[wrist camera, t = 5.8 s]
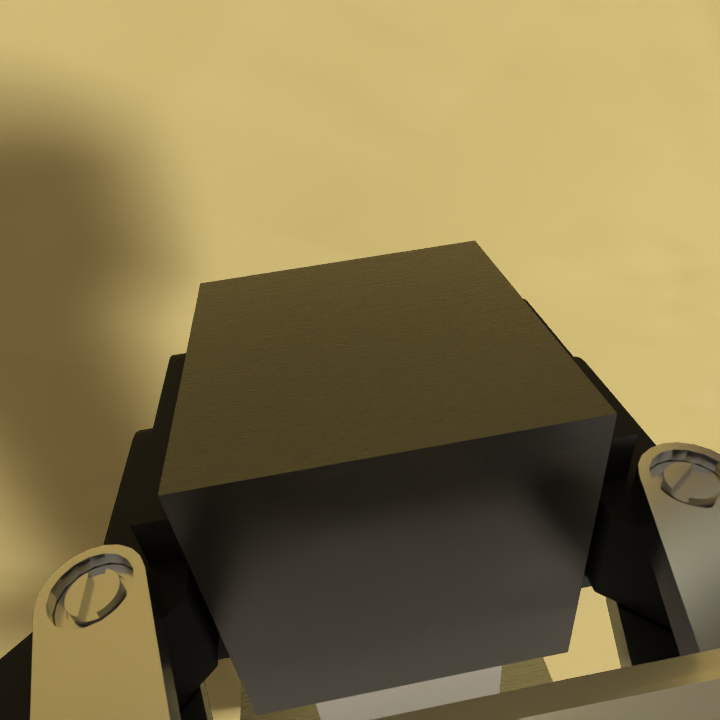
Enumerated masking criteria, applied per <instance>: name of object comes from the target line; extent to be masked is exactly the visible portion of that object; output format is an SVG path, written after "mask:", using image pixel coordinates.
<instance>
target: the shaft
mask: <svg viewBox="0 0 720 720" xmlns="http://www.w3.org/2000/svg"><path fill="white" fill-rule="evenodd" d="M616 417H617V413H616V411H615V410H614V409H613V408H612V406H611V405H610V404H609V403H608V402H607V400H606V399H605V398H604V397H603V396H602V394H601V393H600V392H599V391H598V389H597V388H596V387H595V386H594V385H593V383H592V382H591V381H590V380H589V379H588V377H587V376H586V375H585V374H584V372H583V371H582V370H581V369H580V368H579V366H578V365H577V364H576V363H575V362H574V360H573V359H572V358H571V357H570V355H569V354H568V353H567V352H566V351H565V349H564V348H563V347H562V346H561V345H560V343H559V342H558V341H557V340H556V338H555V337H554V336H553V335H552V334H551V332H550V331H549V330H548V329H547V328H546V326H545V325H544V324H543V323H542V321H541V320H540V319H539V318H538V317H537V315H536V314H535V313H534V312H533V311H532V309H531V308H530V307H529V306H528V304H527V303H526V302H525V301H524V300H523V298H522V297H521V296H520V295H519V294H518V292H517V291H516V290H515V289H514V287H513V286H512V285H511V284H510V283H509V281H508V280H507V279H506V278H505V277H504V275H503V274H502V273H501V272H500V270H499V269H498V268H497V267H496V266H495V264H494V263H493V262H492V261H491V260H490V258H489V257H488V256H487V255H486V253H485V252H484V251H483V250H482V249H481V247H480V246H479V245H478V244H477V243H476V241H470V242H463V243H457V244H450V245H444V246H438V247H431V248H425V249H418V250H412V251H406V252H399V253H393V254H386V255H380V256H374V257H367V258H361V259H354V260H348V261H342V262H335V263H329V264H322V265H316V266H310V267H303V268H297V269H290V270H284V271H278V272H271V273H265V274H258V275H252V276H246V277H239V278H233V279H226V280H220V281H214V282H207V283H201V284H200V288H199V293H198V298H197V303H196V308H195V313H194V318H193V323H192V328H191V333H190V337H189V342H188V347H187V352H186V357H185V362H184V367H183V372H182V377H181V382H180V387H179V392H178V397H177V402H176V407H175V412H174V417H173V422H172V427H171V432H170V437H169V442H168V447H167V452H166V457H165V462H164V467H163V472H162V477H161V482H160V487H159V492H158V497H159V500H160V502H161V504H162V506H163V508H164V511H165V513H166V515H167V517H168V520H169V522H170V524H171V526H172V529H173V531H174V533H175V535H176V537H177V540H178V542H179V544H180V546H181V549H182V551H183V553H184V555H185V558H186V560H187V562H188V564H189V566H190V569H191V571H192V573H193V575H194V578H195V580H196V582H197V584H198V586H199V589H200V591H201V593H202V595H203V598H204V600H205V602H206V604H207V607H208V609H209V611H210V613H211V615H212V618H213V620H214V622H215V624H216V627H217V629H218V631H219V633H220V635H221V638H222V640H223V642H224V644H225V647H226V649H227V651H228V653H229V656H230V658H231V660H232V662H233V664H234V667H235V669H236V671H237V673H238V676H239V678H240V680H241V682H242V684H243V687H244V689H245V691H246V693H247V696H248V698H249V700H250V702H251V705H252V707H253V709H254V711H255V713H256V716H258V715H263V714H268V713H273V712H277V711H282V710H287V709H292V708H297V707H302V706H307V705H312V704H316V706H317V709H318V712H319V715H320V719H321V720H372V719H377V718H382V717H387V716H392V715H397V714H401V713H406V712H411V711H416V710H421V709H425V708H430V707H435V706H440V705H445V704H449V703H454V702H459V701H464V700H469V699H474V698H478V697H483V696H488V695H493V694H498V693H500V680H501V668H502V665H507V664H512V663H516V662H521V661H526V660H531V659H536V658H541V657H546V656H551V655H556V654H560V653H565V652H568V649H569V644H570V639H571V634H572V629H573V624H574V620H575V615H576V610H577V605H578V600H579V596H580V591H581V586H582V581H583V576H584V571H585V567H586V562H587V557H588V552H589V547H590V543H591V538H592V533H593V528H594V523H595V519H596V514H597V509H598V504H599V499H600V494H601V490H602V485H603V480H604V475H605V470H606V466H607V461H608V456H609V451H610V446H611V441H612V437H613V432H614V427H615V422H616Z"/></svg>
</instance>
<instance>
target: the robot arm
mask: <svg viewBox="0 0 720 720" xmlns="http://www.w3.org/2000/svg"><path fill="white" fill-rule="evenodd" d="M523 300H524V301H525V302H526V303H527V304H528V306H529V307H530V308H531V309H532V311H533V312H534V313H535V314H536V315H537V317H538V318H539V319H540V320H541V321H542V323H543V324H544V325H545V326H546V328H547V329H548V330H549V331H550V332H551V334H552V335H553V336H554V337H555V338H556V340H557V341H558V342H559V343H560V345H561V346H562V347H563V348H564V349H565V351H566V352H567V353H568V354H569V355H570V357H571V358H572V359H573V360H574V362H575V363H576V364H577V365H578V366H579V368H580V369H581V370H582V371H583V372H584V374H585V375H586V376H587V377H588V379H589V380H590V381H591V382H592V383H593V385H594V386H595V387H596V388H597V389H598V391H599V392H600V393H601V394H602V396H603V397H604V398H605V399H606V400H607V402H608V403H609V404H610V405H611V406H612V408H613V409H614V410H615V411H616V413H617V417H616V422H615V427H614V432H613V437H612V441H611V446H610V451H609V456H608V461H607V466H606V470H605V475H604V480H603V485H602V490H601V494H600V499H599V504H598V509H597V514H596V519H595V523H594V528H593V533H592V538H591V543H590V547H589V552H588V557H587V562H586V567H585V571H584V576H583V581H582V586H581V588H584V587H589V586H592V587H593V589H594V591H595V592H597V593H599V594H601V595H603V596H605V597H606V602H607V607H608V611H609V615H610V620H611V624H612V629H613V633H614V638H615V642H616V646H617V651H618V655H619V660H620V664H621V668H620V669H615V670H610V671H605V672H600V673H595V674H590V675H585V676H580V677H576V678H571V679H566V680H561V681H556V682H551V683H546V684H541V685H537V686H532V687H527V688H522V689H517V690H512V691H508V692H503V693H498V694H493V695H488V696H483V697H478V698H474V699H469V700H464V701H459V702H454V703H449V704H445V705H440V706H435V707H430V708H425V709H421V710H416V711H411V712H406V713H401V714H397V715H392V716H387V717H382V718H377V719H372V720H720V454H718V453H716V452H714V451H712V450H710V449H707V448H704V447H700V446H697V445H694V444H686V443H678V442H676V443H664V444H660V445H657V446H656V445H655V444H654V442H653V441H652V440H651V439H650V438H649V436H648V435H647V434H646V433H645V432H644V431H643V429H642V428H641V427H640V426H639V425H638V424H637V422H636V421H635V420H634V419H633V418H632V416H631V415H630V414H629V413H628V412H627V411H626V409H625V408H624V407H623V406H622V405H621V404H620V402H619V401H618V400H617V399H616V398H615V396H614V395H613V394H612V393H611V392H610V391H609V389H608V388H607V387H606V386H605V385H604V384H603V382H602V381H601V380H600V379H599V378H598V376H597V375H596V374H595V373H594V372H593V371H592V369H591V368H590V367H589V366H588V365H587V363H586V362H585V361H583V360H582V359H581V358H579V357H573V356H572V354H571V353H570V352H569V351H568V350H567V348H566V347H565V346H564V345H563V344H562V342H561V341H560V340H559V339H558V338H557V336H556V335H555V334H554V333H553V332H552V330H551V329H550V328H549V327H548V326H547V324H546V323H545V322H544V321H543V320H542V318H541V317H540V316H539V315H538V313H537V312H536V311H535V310H534V309H533V307H532V306H531V305H530V304H529V303H528V301H526V300H525V299H523ZM185 357H186V353H184V354H178V355H172V356H171V357H170V360H169V364H168V368H167V372H166V376H165V380H164V385H163V389H162V393H161V397H160V401H159V405H158V409H157V414H156V418H155V422H154V426H153V428H152V429H146V430H140V431H138V432H137V433H135V436H134V438H133V441H132V444H131V448H130V452H129V455H128V459H127V462H126V466H125V470H124V473H123V477H122V480H121V484H120V487H119V491H118V495H117V498H116V502H115V505H114V509H113V512H112V516H111V520H110V523H109V527H108V530H107V534H106V538H105V541H104V545H102V546H99V547H95V548H92V549H88V550H86V551H84V552H82V553H80V554H78V555H76V556H75V557H73V558H71V559H70V560H68V561H67V562H66V563H65V564H63V565H62V566H61V567H59V568H58V569H57V570H56V571H55V572H54V573H53V574H52V576H51V577H50V578H49V579H48V580H47V581H46V582H45V584H44V586H43V587H42V589H41V591H40V593H39V595H38V597H37V599H36V603H35V608H34V613H33V632H32V633H31V634H30V635H28V636H27V637H26V638H25V639H24V640H22V641H21V642H20V643H19V644H18V645H17V646H15V647H14V648H13V649H12V650H11V651H9V652H8V653H7V654H6V655H5V656H4V657H2V658H1V659H0V720H213V717H212V712H211V708H210V703H209V699H208V695H207V690H206V686H205V681H204V680H205V679H206V678H207V677H208V676H209V675H210V674H211V673H212V671H213V670H214V669H215V668H216V667H217V665H218V659H223V658H228V657H230V656H229V653H228V651H227V649H226V647H225V644H224V642H223V640H222V638H221V635H220V633H219V631H218V629H217V627H216V624H215V622H214V620H213V618H212V615H211V613H210V611H209V609H208V607H207V604H206V602H205V600H204V598H203V595H202V593H201V591H200V589H199V586H198V584H197V582H196V580H195V578H194V575H193V573H192V571H191V569H190V566H189V564H188V562H187V560H186V558H185V555H184V553H183V551H182V549H181V546H180V544H179V542H178V540H177V537H176V535H175V533H174V531H173V529H172V526H171V524H170V522H169V520H168V517H167V515H166V513H165V511H164V508H163V506H162V504H161V502H160V500H159V497H158V492H159V487H160V482H161V477H162V472H163V467H164V462H165V457H166V452H167V447H168V442H169V437H170V432H171V427H172V422H173V417H174V412H175V407H176V402H177V397H178V392H179V387H180V382H181V377H182V372H183V367H184V362H185Z"/></svg>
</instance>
